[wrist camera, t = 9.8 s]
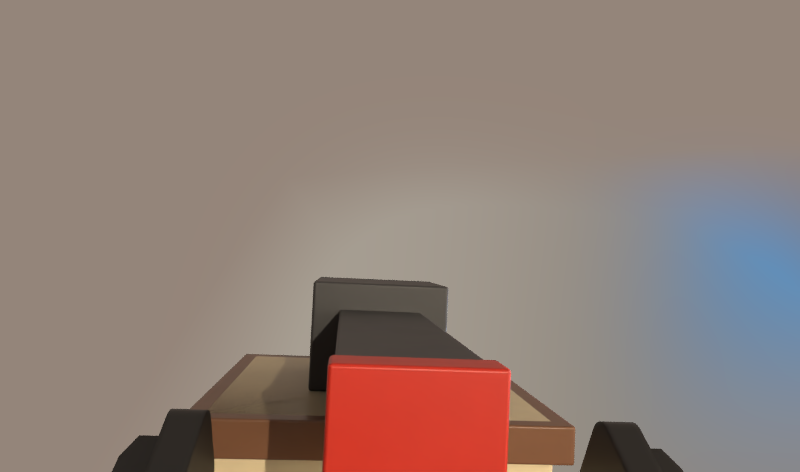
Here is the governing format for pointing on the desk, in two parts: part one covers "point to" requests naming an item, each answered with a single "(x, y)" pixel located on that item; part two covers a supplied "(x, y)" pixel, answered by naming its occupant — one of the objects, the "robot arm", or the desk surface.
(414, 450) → the flashlight
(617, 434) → the robot arm
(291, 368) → the tall tapered bin
